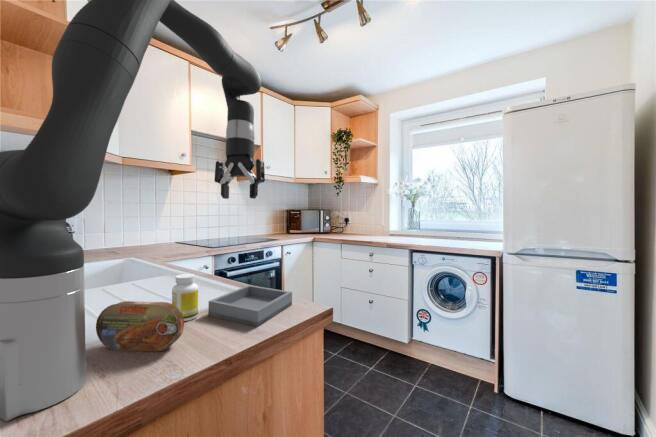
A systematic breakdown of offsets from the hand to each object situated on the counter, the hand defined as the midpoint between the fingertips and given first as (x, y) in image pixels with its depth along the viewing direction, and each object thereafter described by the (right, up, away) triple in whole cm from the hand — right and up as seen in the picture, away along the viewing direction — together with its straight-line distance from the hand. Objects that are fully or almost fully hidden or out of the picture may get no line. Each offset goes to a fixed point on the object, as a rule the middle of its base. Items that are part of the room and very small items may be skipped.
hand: (239, 198), depth 79 cm
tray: (+6, -29, -7) cm, 30 cm away
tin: (-10, -30, -26) cm, 41 cm away
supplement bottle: (-8, -29, -13) cm, 33 cm away
